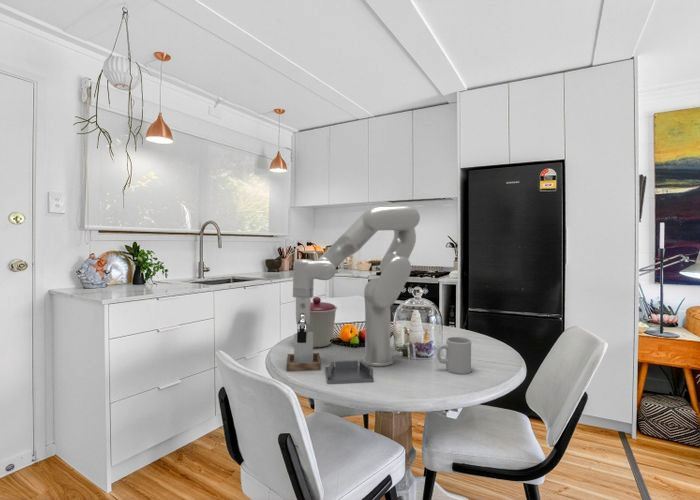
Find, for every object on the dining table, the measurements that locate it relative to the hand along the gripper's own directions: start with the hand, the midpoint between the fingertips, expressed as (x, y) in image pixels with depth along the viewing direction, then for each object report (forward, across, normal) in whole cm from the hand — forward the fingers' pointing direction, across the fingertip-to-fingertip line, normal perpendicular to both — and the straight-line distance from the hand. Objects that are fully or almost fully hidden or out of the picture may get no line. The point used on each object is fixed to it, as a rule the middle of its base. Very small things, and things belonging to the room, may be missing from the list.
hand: (301, 339), depth 141 cm
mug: (+8, -12, -54) cm, 56 cm away
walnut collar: (+10, 0, -1) cm, 10 cm away
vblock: (+9, -13, -16) cm, 23 cm away
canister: (+10, +27, -7) cm, 30 cm away
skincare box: (+10, 0, -1) cm, 10 cm away
